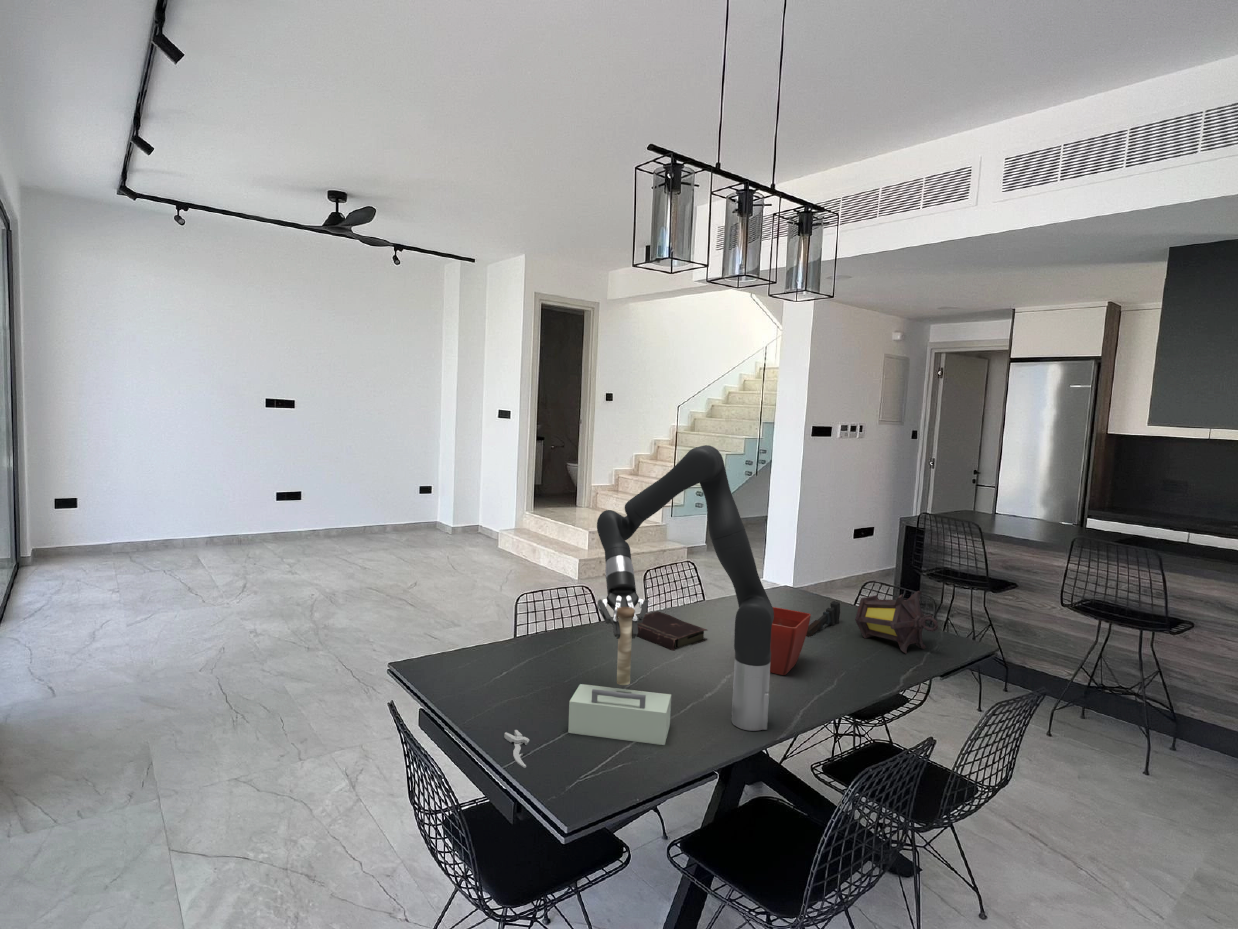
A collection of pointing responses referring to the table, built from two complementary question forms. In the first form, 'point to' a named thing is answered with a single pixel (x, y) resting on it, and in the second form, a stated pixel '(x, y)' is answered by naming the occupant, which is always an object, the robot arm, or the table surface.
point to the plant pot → (787, 639)
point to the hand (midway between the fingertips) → (626, 637)
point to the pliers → (517, 745)
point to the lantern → (894, 620)
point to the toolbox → (620, 714)
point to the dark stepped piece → (826, 618)
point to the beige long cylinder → (624, 645)
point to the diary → (669, 631)
